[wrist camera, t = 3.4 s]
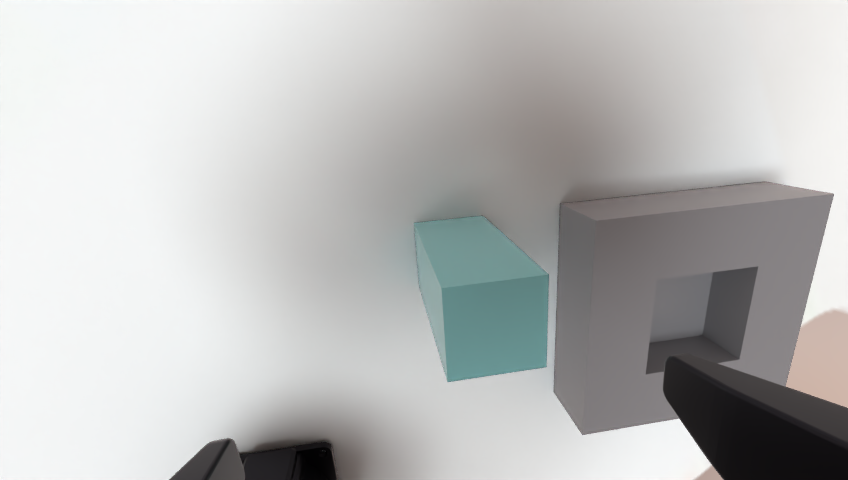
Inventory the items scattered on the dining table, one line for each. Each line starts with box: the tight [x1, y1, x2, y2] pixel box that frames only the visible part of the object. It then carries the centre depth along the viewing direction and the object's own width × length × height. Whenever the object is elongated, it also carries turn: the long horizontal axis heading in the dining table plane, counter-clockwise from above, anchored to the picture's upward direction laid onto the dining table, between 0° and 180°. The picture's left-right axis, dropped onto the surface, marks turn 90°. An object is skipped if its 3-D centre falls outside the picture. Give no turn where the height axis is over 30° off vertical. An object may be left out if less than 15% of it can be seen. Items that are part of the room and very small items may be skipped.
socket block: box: [554, 182, 834, 435], centre depth 22 cm, size 12×12×4 cm
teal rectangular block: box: [414, 216, 549, 382], centre depth 17 cm, size 4×4×8 cm
